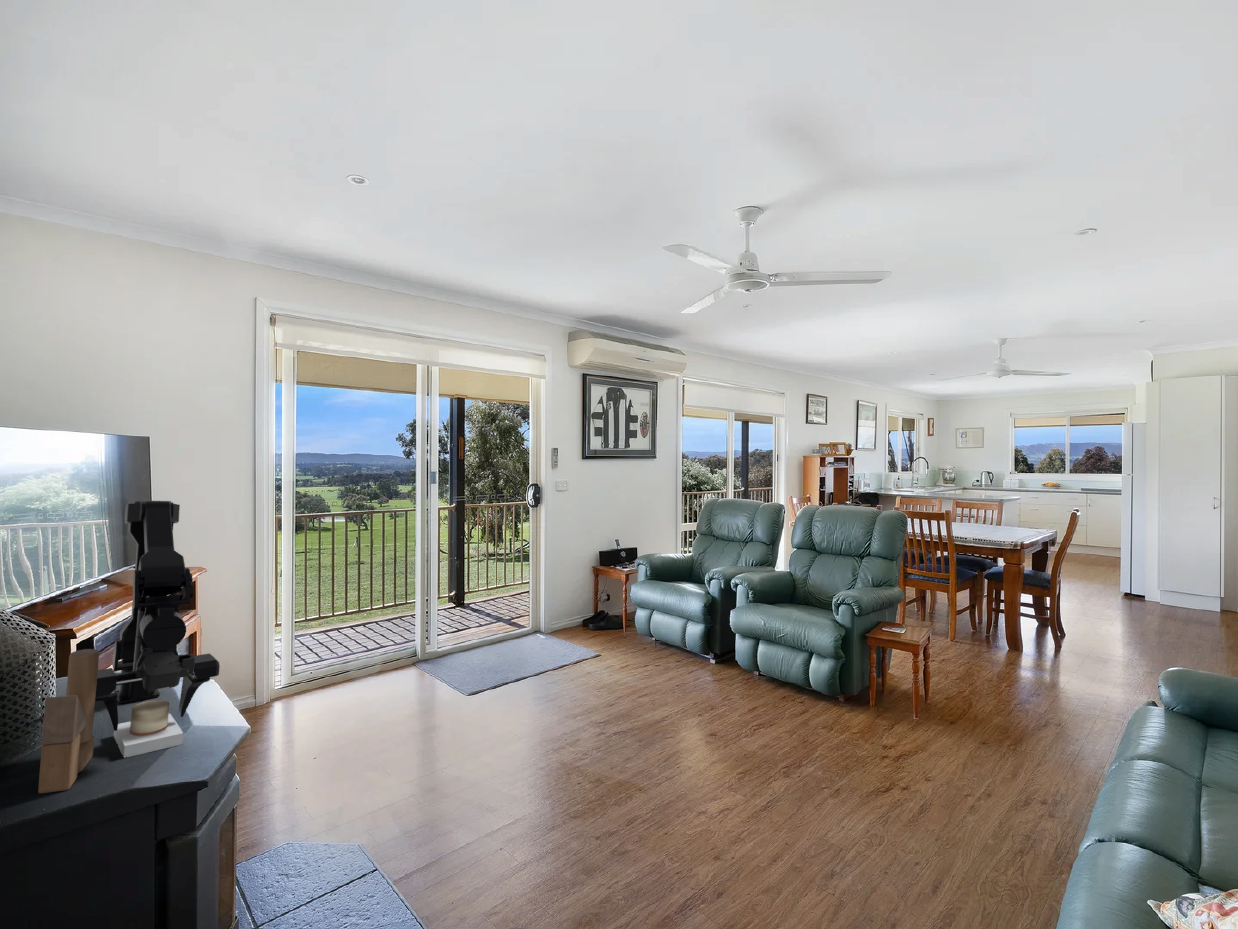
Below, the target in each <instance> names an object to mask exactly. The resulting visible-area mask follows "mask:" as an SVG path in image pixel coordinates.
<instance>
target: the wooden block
mask: <svg viewBox="0 0 1238 929" xmlns="http://www.w3.org/2000/svg"><path fill="white" fill-rule="evenodd" d="M99 658H100V650H98V649H95V648H83V649H78V650H75V651H73V652H70V653H69V657H68V667H67V668H68V669H67V678H66V679H67V681H66V694H65V695H62V696H52V697H51V696H50V697H49V696H48V697H46V698H45V701H44V709H43V710H44V712H43V713H44V714H43V723H42V724H43V725H42V734H41V735H42V736H41V745H42V746H41V752H40V753H41V756H40V763H39V764H40V766H39V776H38V777H39V778H38V787H37V788H38V789H37V791H38V794H48V793H54V792H55V793H57V792H61V791H62V792H63V791H67V790H69V789H71V787H72V785H73V784H74V783H75V781H76V780H77V778H78V774H80V773H81V772H82V771H83V770H84V768H85V767H86V766H87V765H88V763H89V762H90V760H92V757H93V755H94V747H95V746H94V743H95V735H93V731H94V719H95V718H94V717H95V706H96V701H95V696H96V685H97V673H98V670H99Z"/></svg>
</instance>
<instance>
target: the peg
mask: <svg viewBox="0 0 1238 929" xmlns="http://www.w3.org/2000/svg"><path fill="white" fill-rule="evenodd" d="M169 709H170V702H169V701H168V700H163V699H154V700H148V701H141V702H140V703H137V704H134V705H133V706H132V708H131V711H130V713H131V714H130V721H131V723H130V734H132V735H137V736H143V735H151V734H155V733H158V732H161V731H163V730H165V729H166V728H167V725H168V714H169Z"/></svg>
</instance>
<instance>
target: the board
mask: <svg viewBox="0 0 1238 929" xmlns="http://www.w3.org/2000/svg"><path fill="white" fill-rule="evenodd" d="M130 723H131V720H130V721H126V722H121V723H118V729H117V731H114V730H113V738H114V740H115V743H116V744H118V745H117V747H118V748H119V751H120V753H121V755H123V756H122V758H123V757H124V758H123V759H126V757H127V758H130V757H135V756H139V755H143V754H148V753H151V752H155V751H160V750H164V749H168V748H173V747H176V746H181V745H183V743H184V742H183V741H184V732H183V730H182V729H181V727H180V726H179V724H178V723H177V721H176V720H175V718H174V717H173V716H172V714H171V713H168V725H167V728H166V729H165V730H163V731H161V732H158V733H155V734H151V735H143V736H137V735H132V734H130Z"/></svg>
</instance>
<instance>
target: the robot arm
mask: <svg viewBox="0 0 1238 929" xmlns="http://www.w3.org/2000/svg"><path fill="white" fill-rule="evenodd" d="M180 508H181V505H180V504H177V503H174V502H173V501H171V500H134V501H133V503H127V505H126V506H125V512H124V524H128V528H127V529H128V530H127V531H128V533H129V534H130V536H131V538H132V539H133V540H134V541H135V544H136V549H135V552H136V553H135V566H134V571H133V575H132V576H133V577H132V605H131V617H130V618H129V619H127V620H128V621H126V623H125V624H124V626H123V627H122V628H121V629H120V633H119V639H118V640H117V639H116V640H115V643H114V647H113V648H114V649H113V651H112V652H113V653H112V663H111V664H112V667H108V668H104V669H103V668H102V669H98V673H97V685H96V696H95V702H101V701H102V703H103V704H104V707H105V709H106V711H107V714H108V717H109V721H110V723H111V726H112V729H113V732H114V731H117V729H118V724H119V714H118V713H119V712H118V711H119V710H118V704H125V703H131V702H136V701H142V700H147V699H152V698H157V697H159V696H160V695H161V693H160V692H159V689H165V688H175V687H177V686H179V684H180V680H181V678H182V683H181V689H180V690H181V691H180V696H179V697H180V698H179V706H178V716H179V717H180V718H183V717H184V716H185V713H186V711H187V710H188V707H189V705H190V703H191V701H192V699H193V697H194V696H195V694H196V692H197V691H198V689H199V687H201V685H203V684H205V683H206V682H207V683H209V682H210V680H211V678H215V677H217V676H219V675H220V669H221V668H220V666H221V665H220V662H219V661H218V659H216V658H215V656H214V655H212V654H211V653H203V654H197V655H194V653H186V654H179V653H178V650H177V648H178V645H179V644H180V643H181V642H182V641H183V640H184V638H185V636H186V633H187V626H186V623H185V621H184V619H183V618H182V615H181V614H180V606H183V605H185V606H186V605H190V604H191V599H193V597H194V581H193V573H191V569H189V567H186V566H185V558H184V556H183V555H182V554H180V553H179V552H177V551H175V542H174V524H178V523H179V522H180V511H181V510H180ZM182 593H183V594H182ZM118 671H120V673H115V672H118ZM117 686H119V688H118V690H116V689H117Z"/></svg>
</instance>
